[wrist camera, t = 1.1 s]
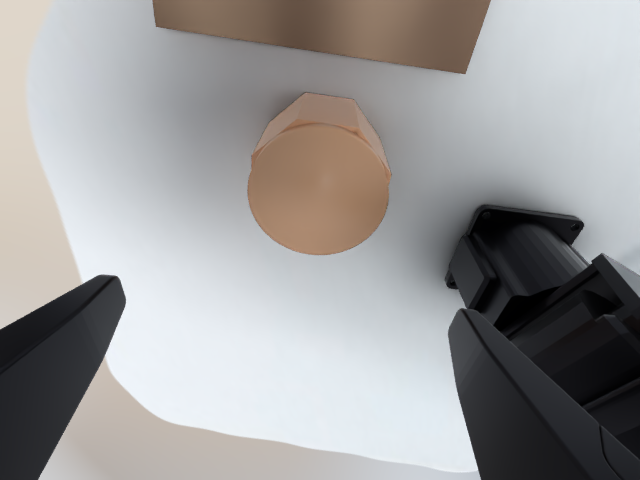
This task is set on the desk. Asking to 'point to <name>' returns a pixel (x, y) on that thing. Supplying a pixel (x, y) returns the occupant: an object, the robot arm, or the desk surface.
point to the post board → (342, 26)
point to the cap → (319, 176)
